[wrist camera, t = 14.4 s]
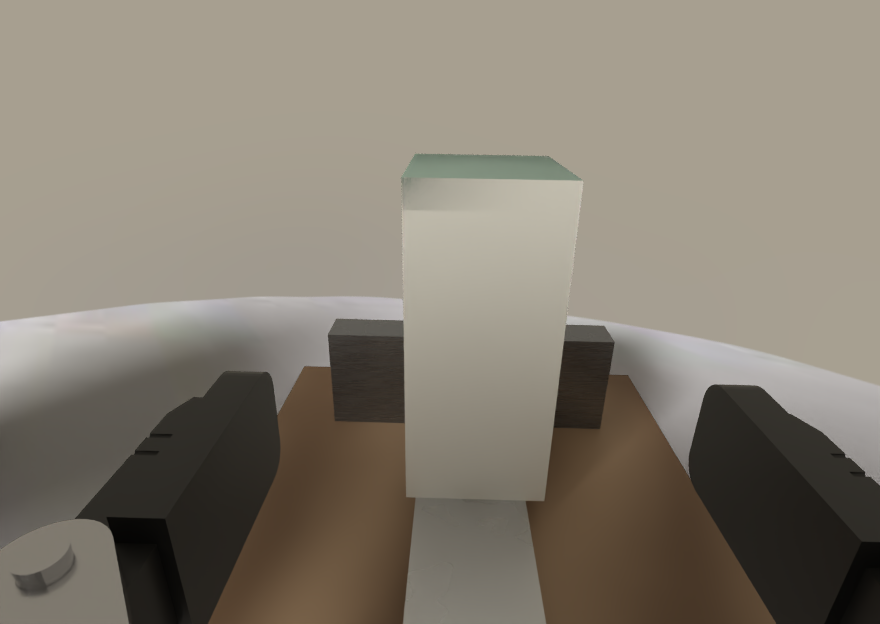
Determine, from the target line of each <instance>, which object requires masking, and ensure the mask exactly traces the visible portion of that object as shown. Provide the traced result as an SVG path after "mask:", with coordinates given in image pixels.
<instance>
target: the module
mask: <svg viewBox="0 0 880 624" xmlns="http://www.w3.org/2000/svg"><path fill="white" fill-rule="evenodd" d="M401 183H402V250H403V322H404V391H405V461H406V497H415V498H450V499H484V500H519V501H544V499H545V491H546V483H547V475H548V467H549V458H550V450H551V442H552V434H553V426H554V418H555V409H556V401H557V393H558V385H559V377H560V369H561V361H562V352H563V344H564V336H565V328H566V320H567V312H568V303H569V294H570V287H571V279H572V271H573V262H574V254H575V246H576V238H577V230H578V222H579V214H580V206H581V197H582V189H583V180H582V179H580V178H579V177H577V176H576V175H574V174H573V173H572V172H570V171H569V170H567V169H566V168H565V167H563V166H562V165H560V164H559V163H557V162H556V161H555V160H553V159H552V158H550V157H549V156H509V155H507V156H506V155H453V154H415V155H414V157H413V159H412V160H411V162H410V164H409V166H408V167H407V169H406V171H405V172H404V174H403V175H402V177H401Z"/></svg>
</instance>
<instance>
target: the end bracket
mask: <svg viewBox="0 0 880 624" xmlns="http://www.w3.org/2000/svg"><path fill="white" fill-rule="evenodd" d="M328 341H329V353H330V366H331V379H332V392H333V404H334V417H335V421H348V422H381V423H405V391H404V322H403V321H397V320H358V319H336V321H335V322H334V324H333V326H332V328H331V330H330V332H329V334H328ZM613 348H614V341H613V339H612V338H611V336H610V334H609V333H608V331H607V330H606V328H605V326H591V325H566V328H565V336H564V344H563V352H562V361H561V369H560V377H559V385H558V393H557V401H556V409H555V418H554V426H553V428H581V429H600V427H601V421H602V415H603V409H604V403H605V397H606V391H607V385H608V379H609V372H610V366H611V360H612V354H613Z"/></svg>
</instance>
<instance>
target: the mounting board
mask: <svg viewBox="0 0 880 624" xmlns="http://www.w3.org/2000/svg"><path fill="white" fill-rule="evenodd" d="M277 419H278V427H279V435H280V445H281V450H280V461H279V466H278V470H277V473H276V476H275V478H274V481H273V483H272V485H271V487H270V489H269V492H268V494H267V496H266V498H265V500H264V502H263V505H262V507H261V509H260V511H259V513H258V516H257V518H256V520H255V522H254V524H253V526H252V529H251V531H250V533H249V535H248V537H247V540H246V542H245V544H244V546H243V548H242V551H241V553H240V555H239V557H238V559H237V561H236V564H235V566H234V568H233V570H232V572H231V575H230V577H229V579H228V581H227V583H226V586H225V588H224V590H223V592H222V594H221V596H220V599H219V601H218V603H217V605H216V607H215V610H214V612H213V614H212V616H211V618H210V620H209V623H208V624H403V618H404V608H405V598H406V588H407V578H408V568H409V558H410V548H411V538H412V528H413V518H414V508H415V499H416V498H415V497H406V461H405V423H381V422H348V421H335V417H334V404H333V392H332V379H331V367H308V366H304V368H303V370H302V372H301V374H300V375H299V377H298V379H297V381H296V383H295V385H294V386H293V388H292V390H291V392H290V394H289V395H288V397H287V399H286V401H285V403H284V405H283V406H282V408H281V410H280V412H279V414H278V415H277ZM526 507H527V513H528V518H529V524H530V530H531V536H532V542H533V548H534V554H535V560H536V566H537V572H538V578H539V584H540V590H541V596H542V602H543V608H544V614H545V620H546V624H776V622H775V621H774V619H773V617H772V616H771V614H770V613H769V611H768V609H767V608H766V606H765V604H764V603H763V601H762V599H761V598H760V596H759V594H758V593H757V591H756V589H755V588H754V586H753V585H752V583H751V581H750V580H749V578H748V576H747V575H746V573H745V571H744V570H743V568H742V566H741V565H740V563H739V561H738V560H737V558H736V557H735V555H734V553H733V552H732V550H731V548H730V547H729V545H728V543H727V542H726V540H725V538H724V537H723V535H722V534H721V532H720V530H719V529H718V527H717V525H716V524H715V522H714V520H713V519H712V517H711V515H710V514H709V512H708V510H707V509H706V507H705V506H704V504H703V502H702V501H701V499H700V497H699V496H698V494H697V492H696V491H695V489H694V487H693V484H692V481H691V480H690V478H689V476H688V475H687V473H686V471H685V470H684V468H683V466H682V465H681V463H680V461H679V460H678V458H677V456H676V455H675V453H674V451H673V450H672V448H671V446H670V445H669V443H668V441H667V440H666V438H665V436H664V435H663V433H662V431H661V430H660V428H659V426H658V425H657V423H656V421H655V420H654V418H653V416H652V415H651V413H650V411H649V410H648V408H647V406H646V405H645V403H644V401H643V400H642V398H641V396H640V395H639V393H638V391H637V390H636V388H635V386H634V385H633V383H632V381H631V380H630V378H629V376H628V375H609V379H608V385H607V391H606V397H605V403H604V409H603V415H602V421H601V427H600V429H581V428H553V434H552V442H551V450H550V458H549V467H548V475H547V483H546V491H545V499H544V501H526Z"/></svg>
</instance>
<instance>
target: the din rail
mask: <svg viewBox="0 0 880 624" xmlns="http://www.w3.org/2000/svg"><path fill="white" fill-rule="evenodd" d="M403 624H546V620H545V614H544V608H543V602H542V596H541V590H540V584H539V578H538V572H537V566H536V560H535V554H534V548H533V542H532V536H531V530H530V524H529V518H528V513H527V507H526V501H519V500H484V499H450V498H416V499H415V508H414V518H413V528H412V538H411V548H410V558H409V568H408V578H407V588H406V598H405V608H404V618H403Z"/></svg>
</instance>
